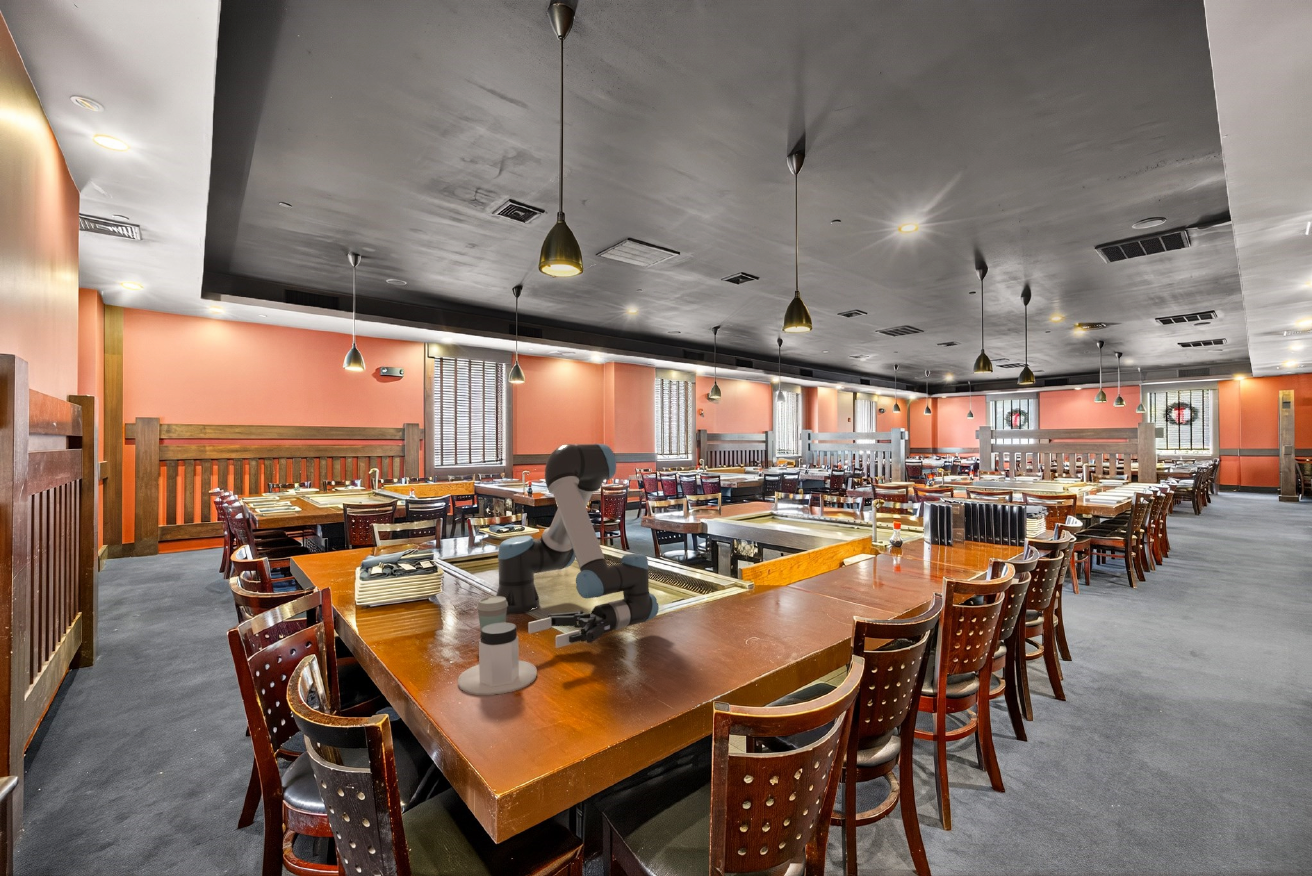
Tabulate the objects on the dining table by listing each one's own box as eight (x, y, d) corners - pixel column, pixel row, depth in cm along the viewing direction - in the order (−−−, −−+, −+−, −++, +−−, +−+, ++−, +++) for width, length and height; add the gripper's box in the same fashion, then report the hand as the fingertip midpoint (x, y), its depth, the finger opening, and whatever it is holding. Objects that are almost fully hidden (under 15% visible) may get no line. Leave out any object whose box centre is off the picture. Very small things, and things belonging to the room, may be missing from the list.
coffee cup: (493, 635, 166) (493, 594, 166) (514, 640, 162) (514, 597, 162) (470, 644, 159) (469, 601, 159) (492, 649, 154) (491, 605, 154)
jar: (490, 670, 138) (489, 621, 138) (522, 671, 137) (522, 622, 137) (474, 687, 129) (473, 633, 129) (509, 688, 128) (508, 634, 128)
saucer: (446, 677, 136) (446, 673, 136) (514, 658, 148) (514, 654, 148) (478, 703, 123) (478, 698, 123) (550, 679, 135) (550, 674, 135)
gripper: (638, 642, 148) (569, 664, 134) (584, 619, 167) (518, 636, 153) (638, 613, 148) (568, 632, 134) (584, 594, 167) (518, 609, 153)
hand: (541, 634), depth 143 cm, fingers open, 13 cm apart
